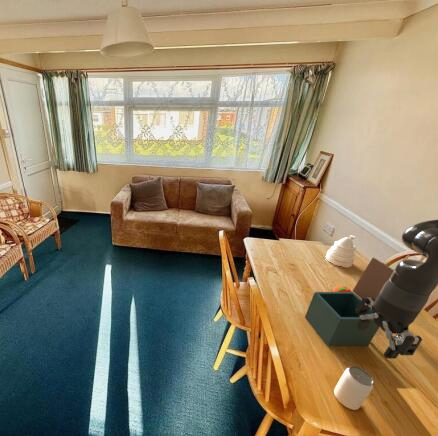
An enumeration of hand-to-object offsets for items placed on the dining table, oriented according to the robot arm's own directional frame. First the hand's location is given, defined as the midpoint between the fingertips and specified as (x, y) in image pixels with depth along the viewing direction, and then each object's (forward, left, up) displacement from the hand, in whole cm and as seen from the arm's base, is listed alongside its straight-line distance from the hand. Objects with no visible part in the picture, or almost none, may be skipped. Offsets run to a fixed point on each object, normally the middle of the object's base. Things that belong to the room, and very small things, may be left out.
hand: (373, 342), depth 64 cm
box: (-14, -23, -23) cm, 36 cm away
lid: (-22, -23, 0) cm, 32 cm away
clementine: (-30, -41, -24) cm, 56 cm away
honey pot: (-53, -72, -24) cm, 92 cm away
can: (+1, +2, -24) cm, 24 cm away
